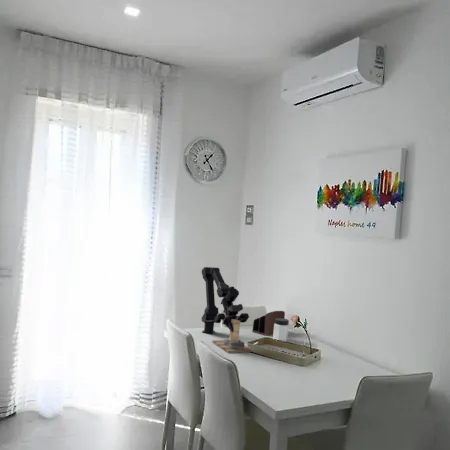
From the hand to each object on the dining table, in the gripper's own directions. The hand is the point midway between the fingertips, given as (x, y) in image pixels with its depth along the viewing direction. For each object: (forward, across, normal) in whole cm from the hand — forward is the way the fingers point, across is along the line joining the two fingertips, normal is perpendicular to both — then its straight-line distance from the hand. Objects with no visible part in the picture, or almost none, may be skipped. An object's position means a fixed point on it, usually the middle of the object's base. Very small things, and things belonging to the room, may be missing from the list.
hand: (235, 331), depth 258 cm
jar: (-3, +37, +16) cm, 41 cm away
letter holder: (-16, +40, +29) cm, 52 cm away
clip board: (+4, 0, +9) cm, 10 cm away
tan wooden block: (+4, 0, +6) cm, 7 cm away
